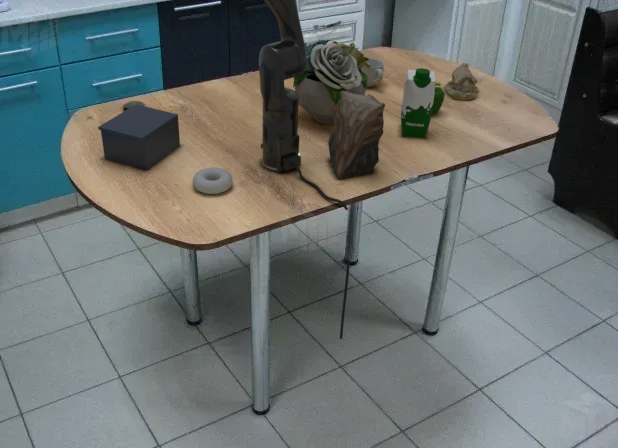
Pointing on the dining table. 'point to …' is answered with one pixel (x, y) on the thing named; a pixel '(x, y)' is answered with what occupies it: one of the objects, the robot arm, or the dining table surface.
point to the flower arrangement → (330, 77)
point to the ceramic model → (462, 83)
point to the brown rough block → (355, 135)
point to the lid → (138, 122)
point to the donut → (206, 177)
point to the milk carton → (417, 102)
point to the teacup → (373, 72)
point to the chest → (142, 146)
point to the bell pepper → (437, 99)
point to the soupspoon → (132, 103)
